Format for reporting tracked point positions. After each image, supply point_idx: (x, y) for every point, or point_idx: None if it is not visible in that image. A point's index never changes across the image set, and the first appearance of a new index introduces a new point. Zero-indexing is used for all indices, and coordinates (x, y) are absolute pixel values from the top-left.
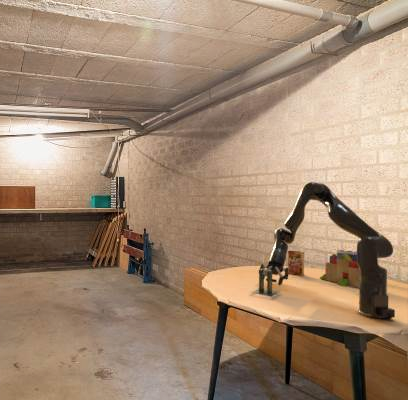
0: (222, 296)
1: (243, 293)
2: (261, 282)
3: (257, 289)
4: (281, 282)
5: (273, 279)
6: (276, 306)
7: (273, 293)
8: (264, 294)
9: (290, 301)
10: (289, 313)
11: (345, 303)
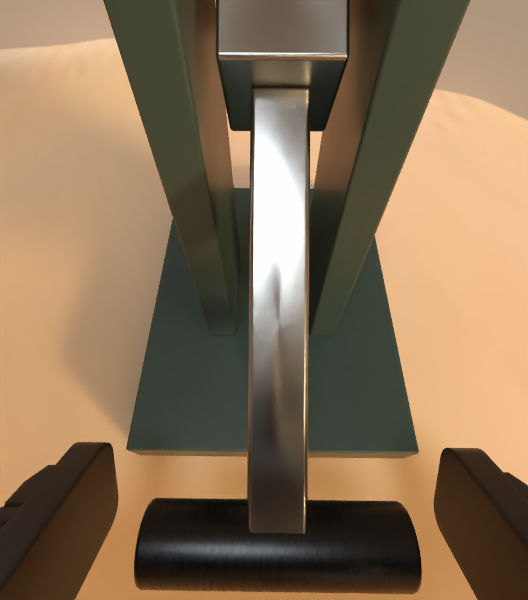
0: (465, 97)
1: (436, 226)
2: (318, 173)
3: (386, 331)
4: (25, 487)
5: (211, 525)
6: (131, 112)
7: (184, 287)
8: (248, 204)
9: (34, 253)
10: (61, 67)
11: None
